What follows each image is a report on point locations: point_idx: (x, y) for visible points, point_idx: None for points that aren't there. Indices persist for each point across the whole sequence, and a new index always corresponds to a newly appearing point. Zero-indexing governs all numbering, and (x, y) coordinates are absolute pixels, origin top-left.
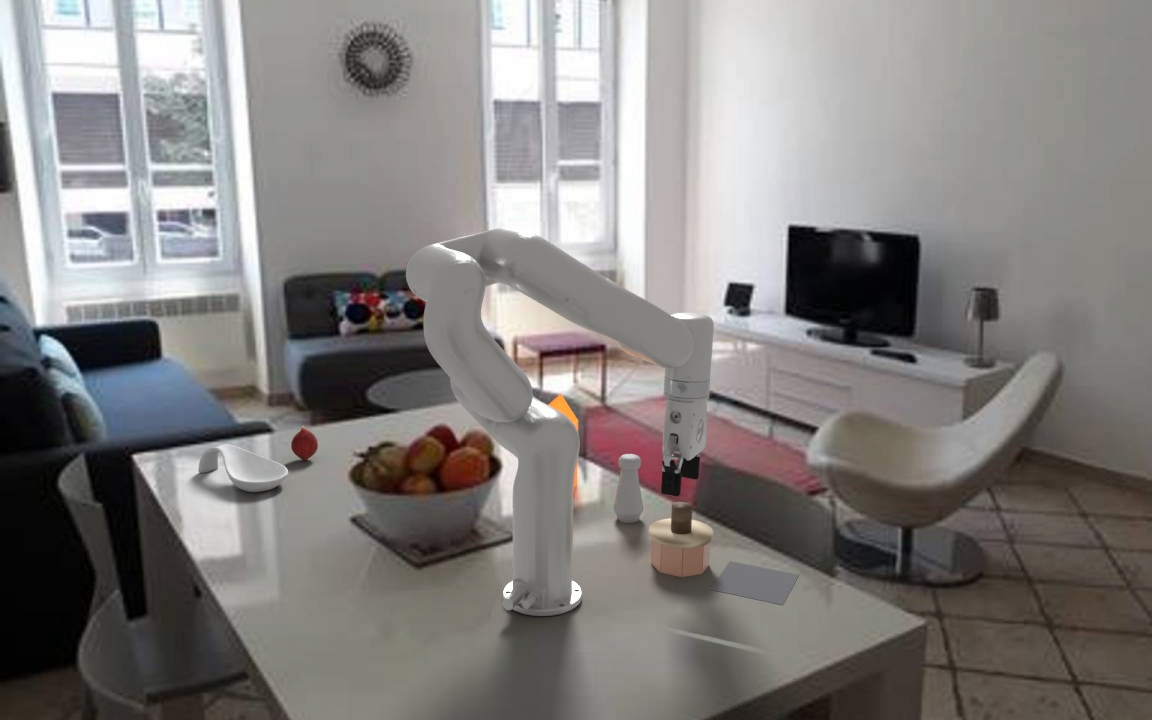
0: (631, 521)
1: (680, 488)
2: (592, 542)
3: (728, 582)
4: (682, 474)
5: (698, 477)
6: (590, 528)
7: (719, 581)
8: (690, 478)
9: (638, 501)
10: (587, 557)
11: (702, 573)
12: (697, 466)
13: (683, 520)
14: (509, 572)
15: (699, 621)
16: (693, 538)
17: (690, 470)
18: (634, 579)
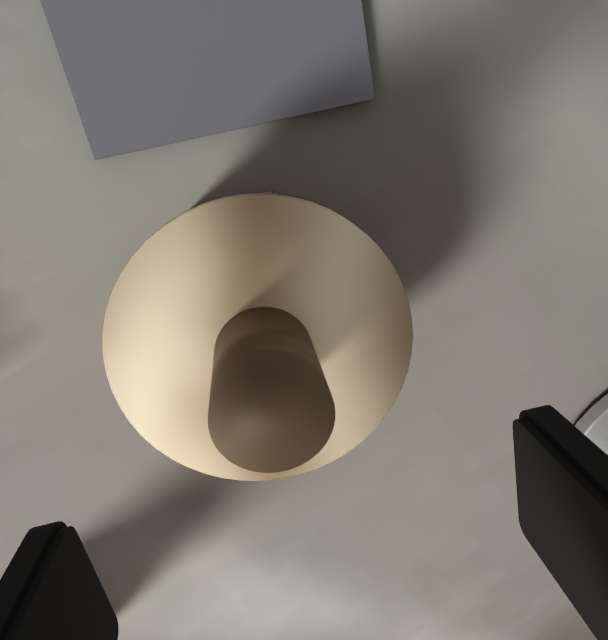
0: None
1: (568, 438)
2: (279, 575)
3: (278, 63)
4: (108, 633)
5: (31, 529)
6: (199, 634)
7: (291, 100)
8: (82, 562)
9: None
10: (374, 527)
11: (270, 192)
12: (19, 629)
13: (311, 349)
14: (556, 589)
15: (584, 17)
16: (310, 258)
17: (68, 628)
18: (424, 354)
